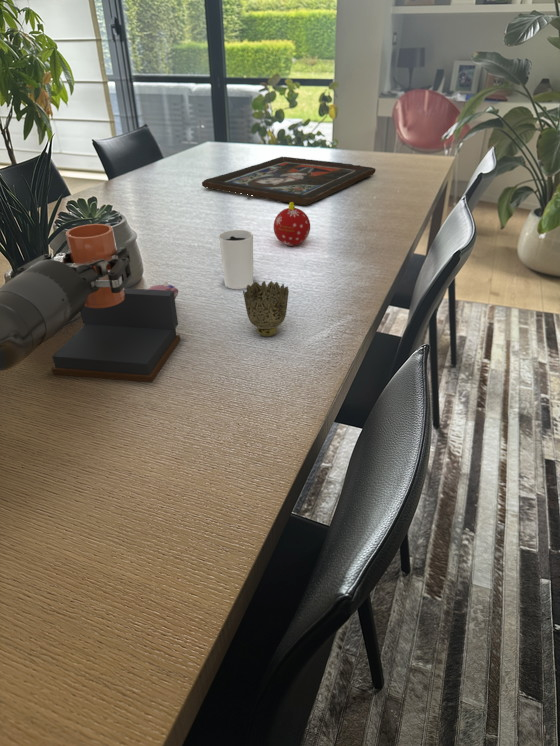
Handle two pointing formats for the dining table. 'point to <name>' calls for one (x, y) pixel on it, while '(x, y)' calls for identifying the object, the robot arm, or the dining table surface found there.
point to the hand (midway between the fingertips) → (103, 253)
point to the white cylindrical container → (237, 258)
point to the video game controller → (165, 288)
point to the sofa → (123, 338)
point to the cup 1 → (90, 245)
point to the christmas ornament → (291, 226)
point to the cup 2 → (266, 306)
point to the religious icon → (290, 179)
